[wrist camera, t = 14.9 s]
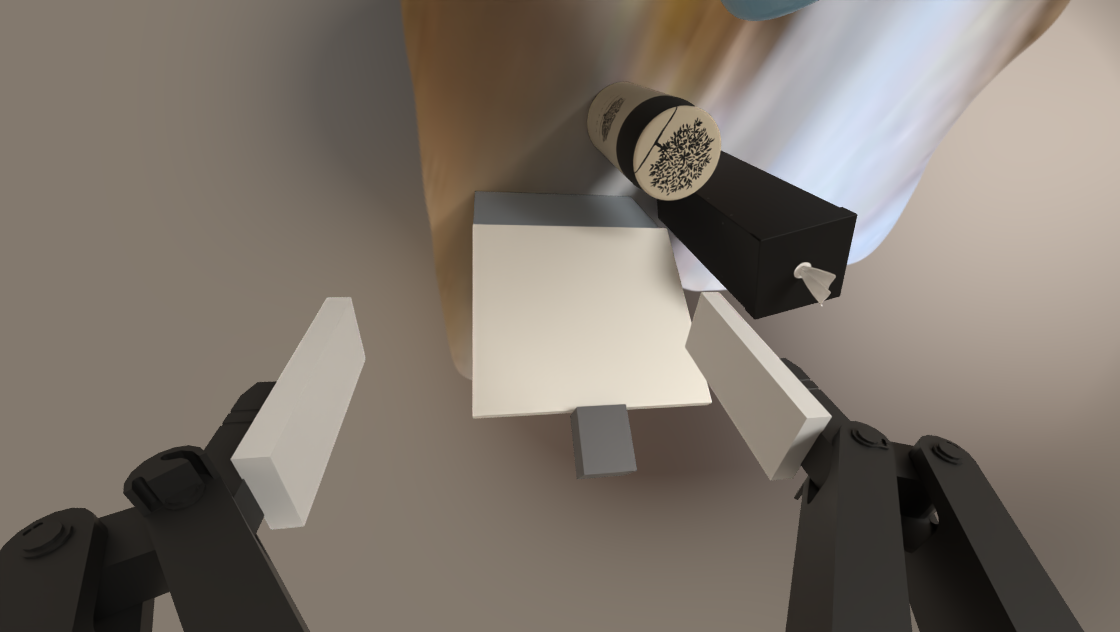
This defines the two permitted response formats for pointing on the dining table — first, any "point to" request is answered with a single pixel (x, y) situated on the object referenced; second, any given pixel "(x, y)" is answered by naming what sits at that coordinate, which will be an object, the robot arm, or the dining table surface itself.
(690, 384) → the lid
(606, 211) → the carton
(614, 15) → the dining table surface
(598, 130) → the travel mug
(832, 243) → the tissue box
